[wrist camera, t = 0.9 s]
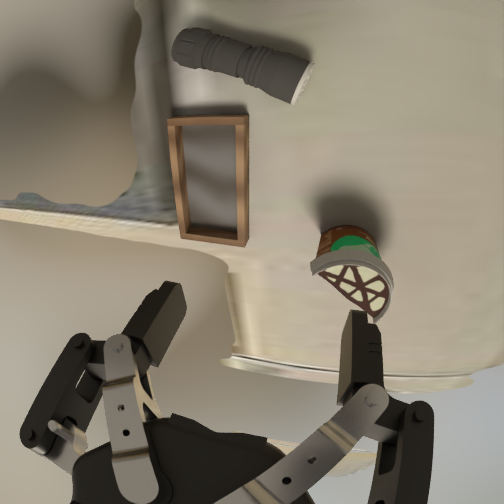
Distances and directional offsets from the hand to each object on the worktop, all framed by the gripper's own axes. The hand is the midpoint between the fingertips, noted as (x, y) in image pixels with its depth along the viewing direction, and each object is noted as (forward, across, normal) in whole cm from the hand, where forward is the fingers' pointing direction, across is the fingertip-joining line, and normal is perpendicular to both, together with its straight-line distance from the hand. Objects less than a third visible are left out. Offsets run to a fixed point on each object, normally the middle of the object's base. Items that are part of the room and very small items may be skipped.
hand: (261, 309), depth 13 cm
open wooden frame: (+25, +12, +4) cm, 28 cm away
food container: (+25, -9, +12) cm, 29 cm away
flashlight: (+27, +12, -14) cm, 33 cm away
